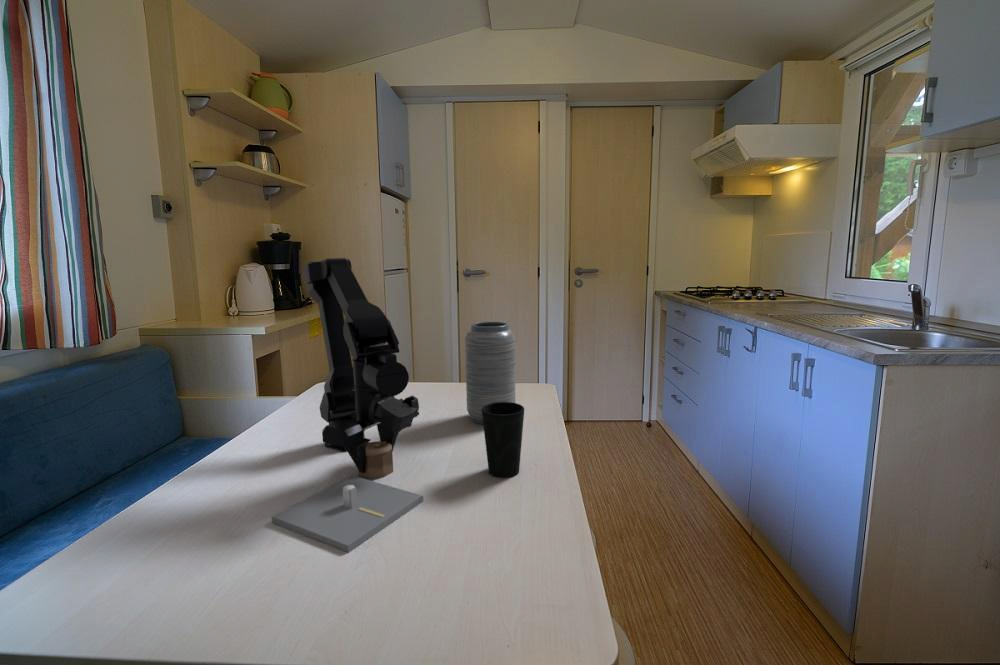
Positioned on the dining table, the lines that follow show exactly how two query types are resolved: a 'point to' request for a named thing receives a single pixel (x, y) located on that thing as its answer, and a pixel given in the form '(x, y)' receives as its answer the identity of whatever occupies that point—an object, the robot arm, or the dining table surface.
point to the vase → (489, 366)
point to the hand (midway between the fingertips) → (375, 465)
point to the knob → (378, 460)
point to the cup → (503, 437)
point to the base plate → (348, 512)
